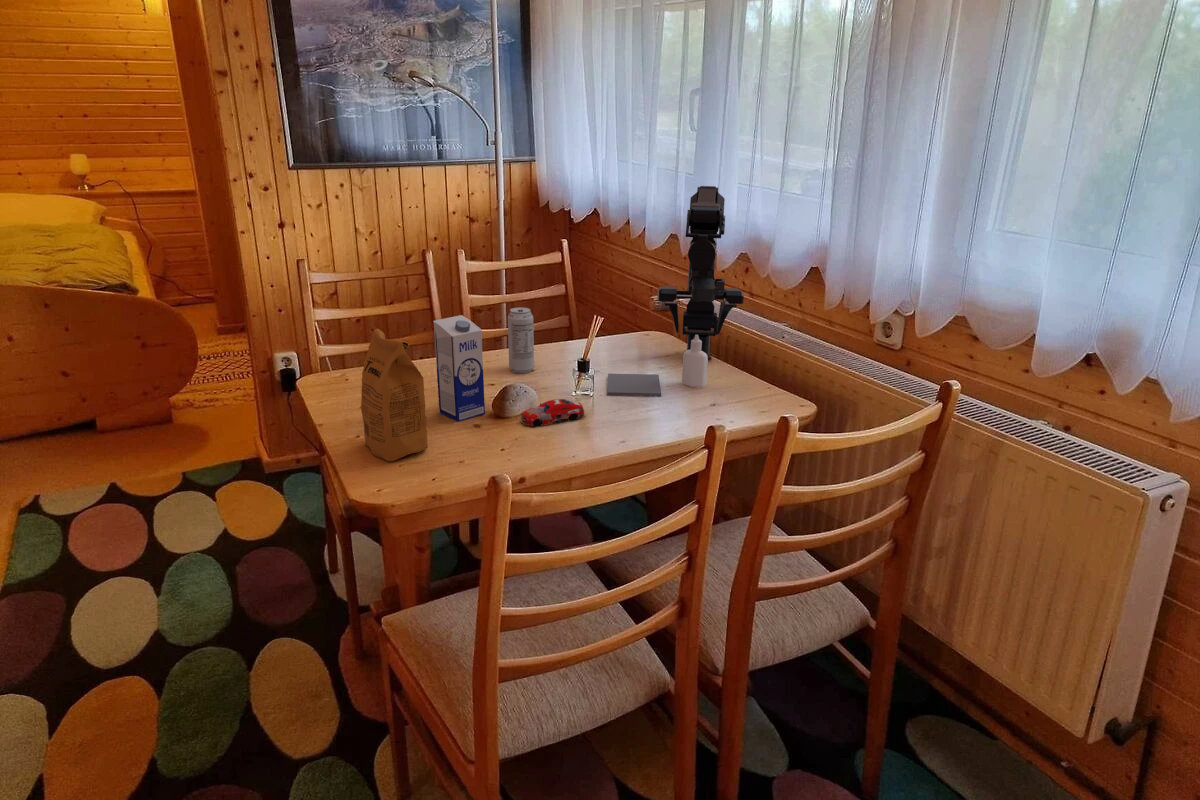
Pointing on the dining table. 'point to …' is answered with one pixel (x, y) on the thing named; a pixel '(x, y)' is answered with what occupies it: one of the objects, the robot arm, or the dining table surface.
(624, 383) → the charcoal pad
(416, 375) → the coffee package
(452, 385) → the milk carton
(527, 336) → the energy drink can
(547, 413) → the race car
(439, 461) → the dining table surface
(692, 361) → the white bottle
